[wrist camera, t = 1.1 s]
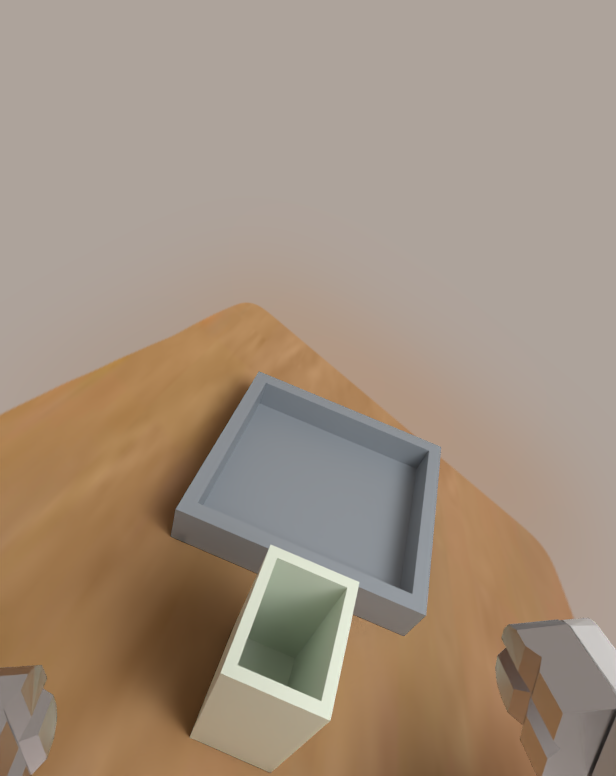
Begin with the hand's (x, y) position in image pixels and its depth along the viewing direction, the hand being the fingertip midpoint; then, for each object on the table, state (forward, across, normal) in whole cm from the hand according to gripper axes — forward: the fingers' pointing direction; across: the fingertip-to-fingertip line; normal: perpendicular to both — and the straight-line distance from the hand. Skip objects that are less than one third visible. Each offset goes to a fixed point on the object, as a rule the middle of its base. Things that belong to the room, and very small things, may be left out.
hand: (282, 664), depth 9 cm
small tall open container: (+15, +2, +24) cm, 29 cm away
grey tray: (+31, -4, +20) cm, 37 cm away
